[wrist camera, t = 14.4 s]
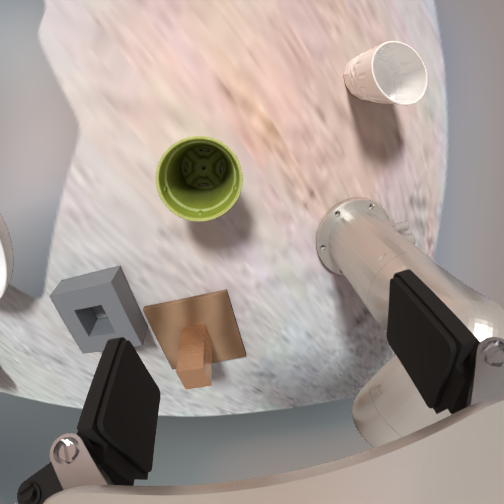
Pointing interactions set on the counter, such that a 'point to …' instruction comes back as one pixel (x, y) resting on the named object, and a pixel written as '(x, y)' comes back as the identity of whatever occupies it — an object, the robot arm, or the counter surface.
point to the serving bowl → (5, 257)
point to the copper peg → (195, 357)
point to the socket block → (113, 302)
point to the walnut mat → (197, 313)
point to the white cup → (387, 75)
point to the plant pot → (199, 178)
